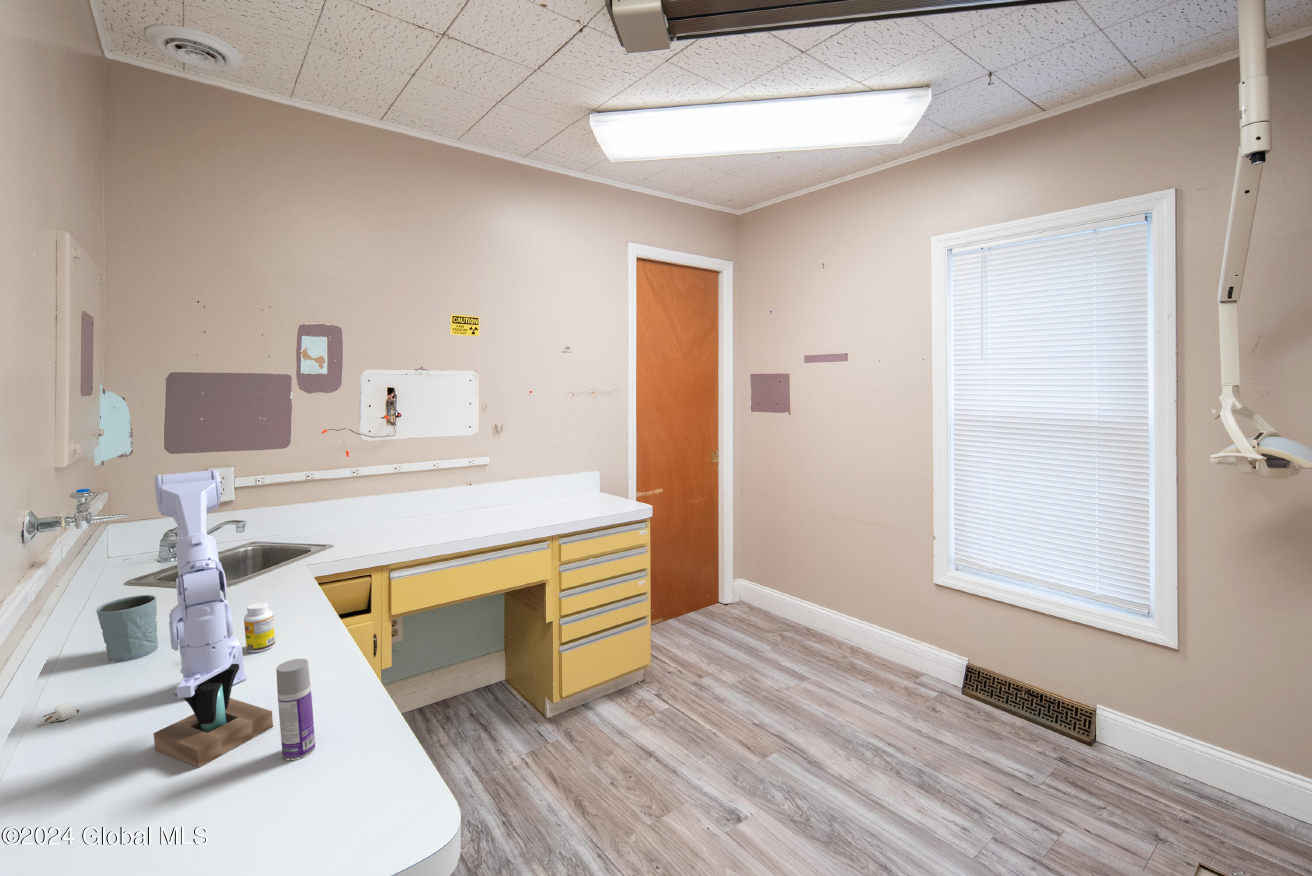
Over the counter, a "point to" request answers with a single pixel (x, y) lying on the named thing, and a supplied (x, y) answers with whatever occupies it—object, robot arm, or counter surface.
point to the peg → (217, 714)
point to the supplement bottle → (259, 628)
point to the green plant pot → (129, 627)
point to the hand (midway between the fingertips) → (213, 716)
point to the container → (295, 709)
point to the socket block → (212, 734)
